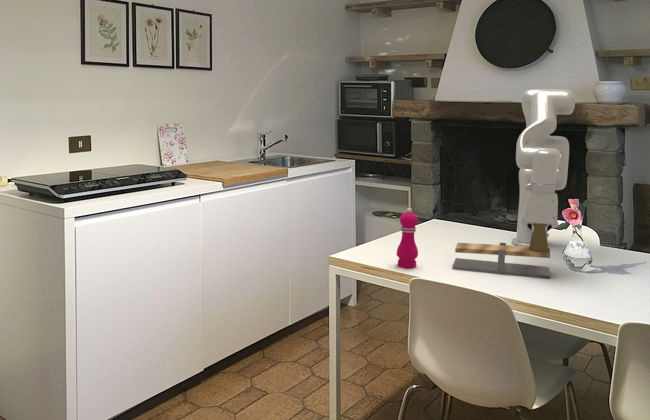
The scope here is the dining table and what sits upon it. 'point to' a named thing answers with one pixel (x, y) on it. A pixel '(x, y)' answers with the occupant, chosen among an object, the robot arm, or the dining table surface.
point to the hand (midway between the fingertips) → (537, 243)
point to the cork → (539, 239)
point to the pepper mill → (407, 241)
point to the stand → (502, 267)
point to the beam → (495, 250)
